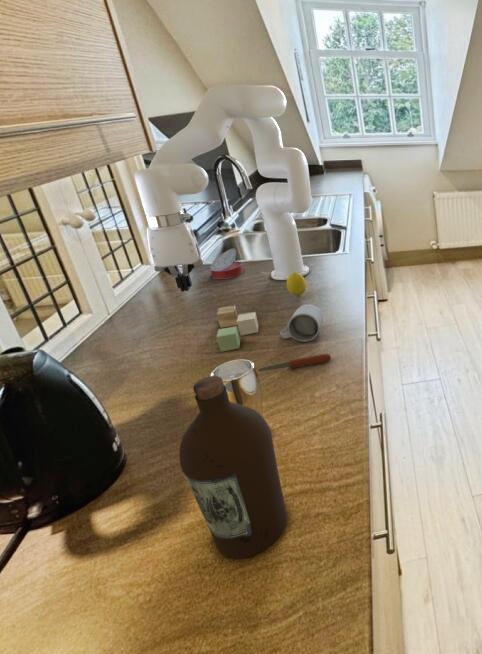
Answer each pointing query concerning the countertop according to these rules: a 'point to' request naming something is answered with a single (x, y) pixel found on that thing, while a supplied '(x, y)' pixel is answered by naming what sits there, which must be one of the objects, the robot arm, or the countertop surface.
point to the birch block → (227, 316)
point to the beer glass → (241, 383)
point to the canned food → (226, 266)
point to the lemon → (296, 284)
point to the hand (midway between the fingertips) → (186, 289)
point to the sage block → (228, 338)
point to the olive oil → (233, 472)
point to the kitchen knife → (299, 362)
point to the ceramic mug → (304, 324)
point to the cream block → (247, 323)
